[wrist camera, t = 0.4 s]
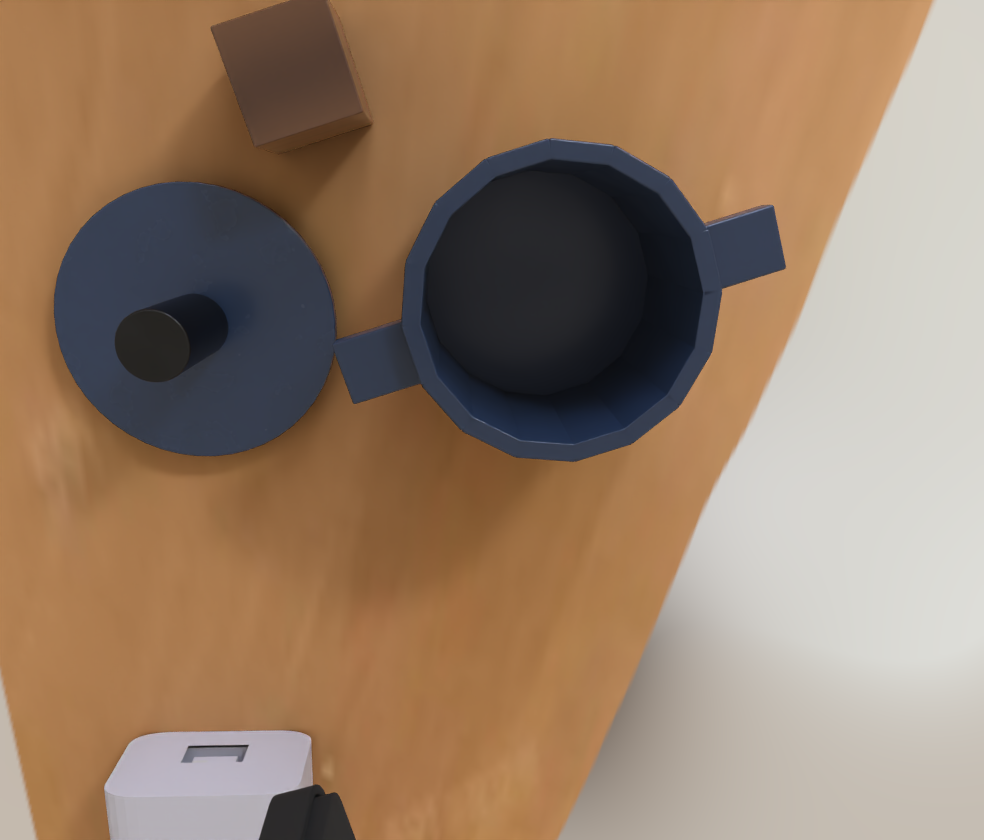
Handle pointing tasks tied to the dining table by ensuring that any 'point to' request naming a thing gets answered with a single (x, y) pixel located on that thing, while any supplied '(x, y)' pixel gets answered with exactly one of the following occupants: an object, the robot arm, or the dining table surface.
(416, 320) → the pot
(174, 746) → the charger
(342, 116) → the block
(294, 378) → the pot lid
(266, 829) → the robot arm
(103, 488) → the dining table surface
